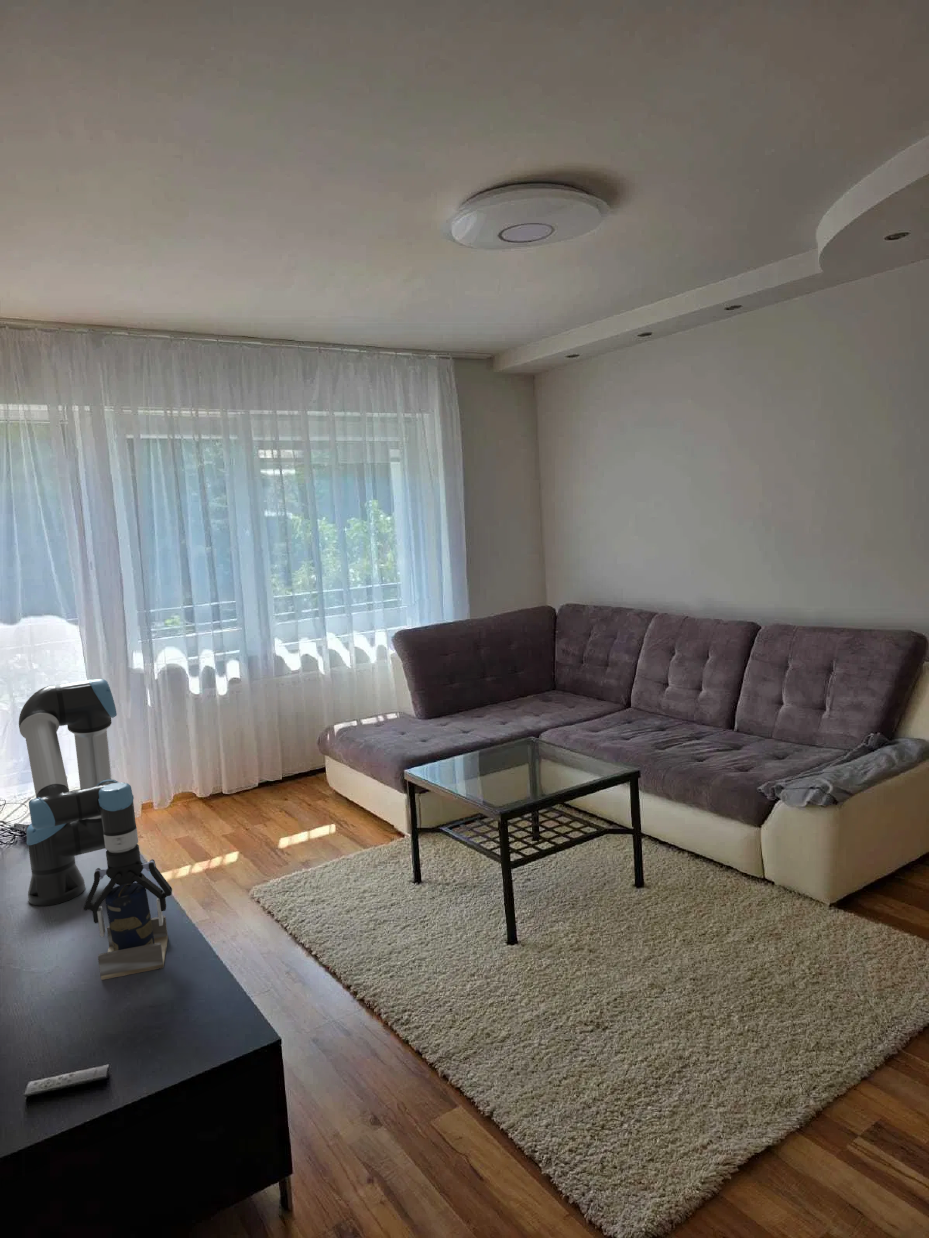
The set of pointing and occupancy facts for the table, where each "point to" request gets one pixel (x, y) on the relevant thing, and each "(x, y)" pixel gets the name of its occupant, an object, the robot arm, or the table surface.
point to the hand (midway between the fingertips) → (132, 928)
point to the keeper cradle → (135, 955)
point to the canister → (129, 916)
